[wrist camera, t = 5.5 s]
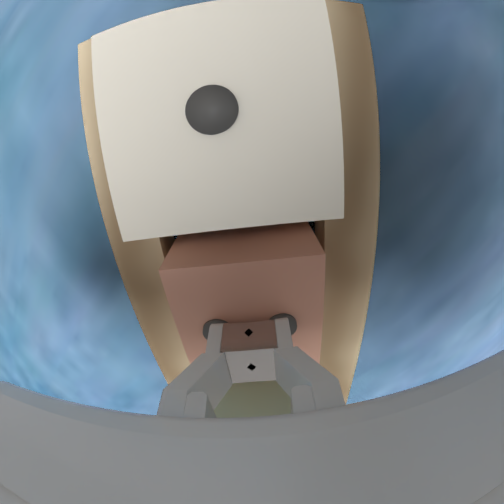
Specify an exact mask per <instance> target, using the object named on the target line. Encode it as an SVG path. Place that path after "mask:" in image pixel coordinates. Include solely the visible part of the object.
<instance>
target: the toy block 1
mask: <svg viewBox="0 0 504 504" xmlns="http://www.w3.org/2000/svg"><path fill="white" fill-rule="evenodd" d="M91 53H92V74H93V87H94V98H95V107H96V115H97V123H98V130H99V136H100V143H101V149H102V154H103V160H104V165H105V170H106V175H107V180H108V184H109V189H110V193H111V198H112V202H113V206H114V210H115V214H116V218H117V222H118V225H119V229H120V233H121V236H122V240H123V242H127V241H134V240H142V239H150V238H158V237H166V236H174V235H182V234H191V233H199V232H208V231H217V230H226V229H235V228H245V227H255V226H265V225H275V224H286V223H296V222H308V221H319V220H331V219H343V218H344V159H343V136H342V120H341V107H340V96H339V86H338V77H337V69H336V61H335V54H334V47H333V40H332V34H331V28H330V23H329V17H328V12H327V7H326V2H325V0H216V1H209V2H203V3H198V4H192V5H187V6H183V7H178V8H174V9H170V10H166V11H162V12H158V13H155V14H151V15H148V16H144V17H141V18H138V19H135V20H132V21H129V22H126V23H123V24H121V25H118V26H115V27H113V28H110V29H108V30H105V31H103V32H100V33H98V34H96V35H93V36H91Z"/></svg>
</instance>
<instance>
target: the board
mask: <svg viewBox="0 0 504 504" xmlns="http://www.w3.org/2000/svg"><path fill="white" fill-rule="evenodd" d="M325 2H326V7H327V12H328V17H329V23H330V28H331V34H332V40H333V47H334V54H335V61H336V69H337V77H338V86H339V96H340V107H341V120H342V136H343V159H344V218H343V219H331V220H319V221H314V223H315V236H316V237H317V239H318V241H319V243H320V245H321V246H322V248H323V250H324V252H325V254H326V263H325V292H324V311H323V327H322V340H321V352H320V363H319V364H320V365H321V366H322V367H324V368H325V369H326V370H327V371H329V372H330V373H331V374H333V375H334V376H335V377H336V378H338V380H339V383H340V387H341V390H342V394H343V397H344V401H345V405H346V402H347V398H348V395H349V391H350V388H351V384H352V380H353V376H354V372H355V368H356V364H357V360H358V355H359V351H360V346H361V342H362V337H363V332H364V327H365V321H366V316H367V310H368V304H369V298H370V291H371V285H372V277H373V269H374V261H375V252H376V241H377V229H378V215H379V193H380V135H379V115H378V101H377V90H376V80H375V71H374V64H373V57H372V50H371V44H370V38H369V32H368V27H367V22H366V17H365V13H364V8H363V4H359V3H353V2H346V1H337V0H325ZM78 64H79V83H80V95H81V105H82V114H83V122H84V129H85V136H86V142H87V148H88V154H89V159H90V165H91V170H92V175H93V179H94V184H95V188H96V192H97V197H98V201H99V205H100V209H101V213H102V216H103V220H104V224H105V227H106V231H107V234H108V237H109V241H110V244H111V247H112V250H113V254H114V257H115V260H116V263H117V266H118V269H119V272H120V274H121V277H122V280H123V283H124V286H125V288H126V291H127V294H128V296H129V299H130V301H131V304H132V306H133V309H134V311H135V314H136V316H137V319H138V321H139V323H140V326H141V328H142V330H143V333H144V335H145V337H146V340H147V342H148V344H149V346H150V348H151V350H152V353H153V355H154V357H155V359H156V361H157V363H158V365H159V367H160V369H161V371H162V373H163V375H164V377H165V379H166V381H167V383H168V385H169V384H170V383H171V382H172V381H173V380H174V379H175V378H176V377H177V376H178V375H179V374H180V373H182V372H183V371H184V370H185V369H186V368H187V367H188V366H189V365H190V362H189V360H188V357H187V354H186V352H185V349H184V346H183V344H182V341H181V338H180V335H179V333H178V330H177V327H176V324H175V321H174V318H173V315H172V312H171V309H170V306H169V303H168V300H167V297H166V294H165V291H164V287H163V284H162V281H161V277H160V274H159V271H158V270H159V268H160V267H161V265H162V263H163V261H164V259H165V257H166V256H167V254H168V252H169V250H170V248H171V247H172V245H173V243H174V241H175V240H174V236H166V237H158V238H150V239H142V240H134V241H127V242H123V240H122V236H121V233H120V229H119V225H118V222H117V218H116V214H115V210H114V206H113V202H112V198H111V193H110V189H109V184H108V180H107V175H106V170H105V165H104V160H103V154H102V149H101V143H100V136H99V130H98V123H97V115H96V107H95V98H94V87H93V74H92V53H91V39H89V40H87V41H84V42H82V43H80V44H78Z"/></svg>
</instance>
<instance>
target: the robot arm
mask: <svg viewBox="0 0 504 504" xmlns="http://www.w3.org/2000/svg"><path fill="white" fill-rule="evenodd" d="M273 380H276V382H277V383H278V384H279V385H280V386H281V387H282V389H283V390H284V391H285V392H286V393H287V394H288V395H289V396H290V398H291V414H283V415H272V416H259V417H240V418H217V417H216V415H215V412H214V409H215V408H216V407H217V405H218V404H219V402H220V401H221V400H222V398H223V397H224V396H225V394H226V393H227V391H228V390H229V389H230V387H231V386H232V383H244V382H256V381H273ZM0 504H504V350H502V351H500V352H498V353H496V354H495V355H493V356H491V357H489V358H486V359H484V360H482V361H480V362H478V363H476V364H474V365H471V366H469V367H467V368H465V369H462V370H460V371H457V372H455V373H452V374H450V375H447V376H445V377H442V378H440V379H437V380H434V381H431V382H428V383H426V384H423V385H420V386H417V387H413V388H410V389H407V390H404V391H400V392H397V393H393V394H390V395H386V396H382V397H379V398H375V399H370V400H366V401H362V402H357V403H353V404H348V405H345V401H344V397H343V394H342V390H341V387H340V383H339V380H338V378H336V377H335V376H334V375H333V374H331V373H330V372H329V371H327V370H326V369H325V368H324V367H322V366H321V365H320V364H319V363H317V362H316V361H315V360H314V359H312V358H311V357H310V356H309V355H307V354H306V353H305V352H304V351H302V350H301V349H300V348H299V347H297V346H295V347H293V342H292V337H291V331H290V326H289V320H288V318H287V317H286V318H278V319H275V321H274V319H272V320H262V321H252V322H236V323H219V324H211V325H210V327H209V333H208V339H207V346H206V352H205V353H202V354H201V355H199V356H198V357H197V358H196V359H195V360H194V361H193V362H192V363H191V364H190V365H189V366H188V367H187V368H186V369H185V370H184V371H183V372H182V373H180V374H179V375H178V376H177V377H176V378H175V379H174V380H173V381H172V382H171V383H170V384H169V385H168V386H166V387H165V388H164V389H163V392H162V395H161V399H160V403H159V407H158V412H157V415H147V414H138V413H130V412H123V411H116V410H110V409H104V408H99V407H93V406H88V405H84V404H79V403H75V402H70V401H66V400H62V399H58V398H55V397H51V396H47V395H44V394H41V393H37V392H34V391H31V390H28V389H25V388H22V387H19V386H16V385H14V384H11V383H9V382H5V381H0Z"/></svg>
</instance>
